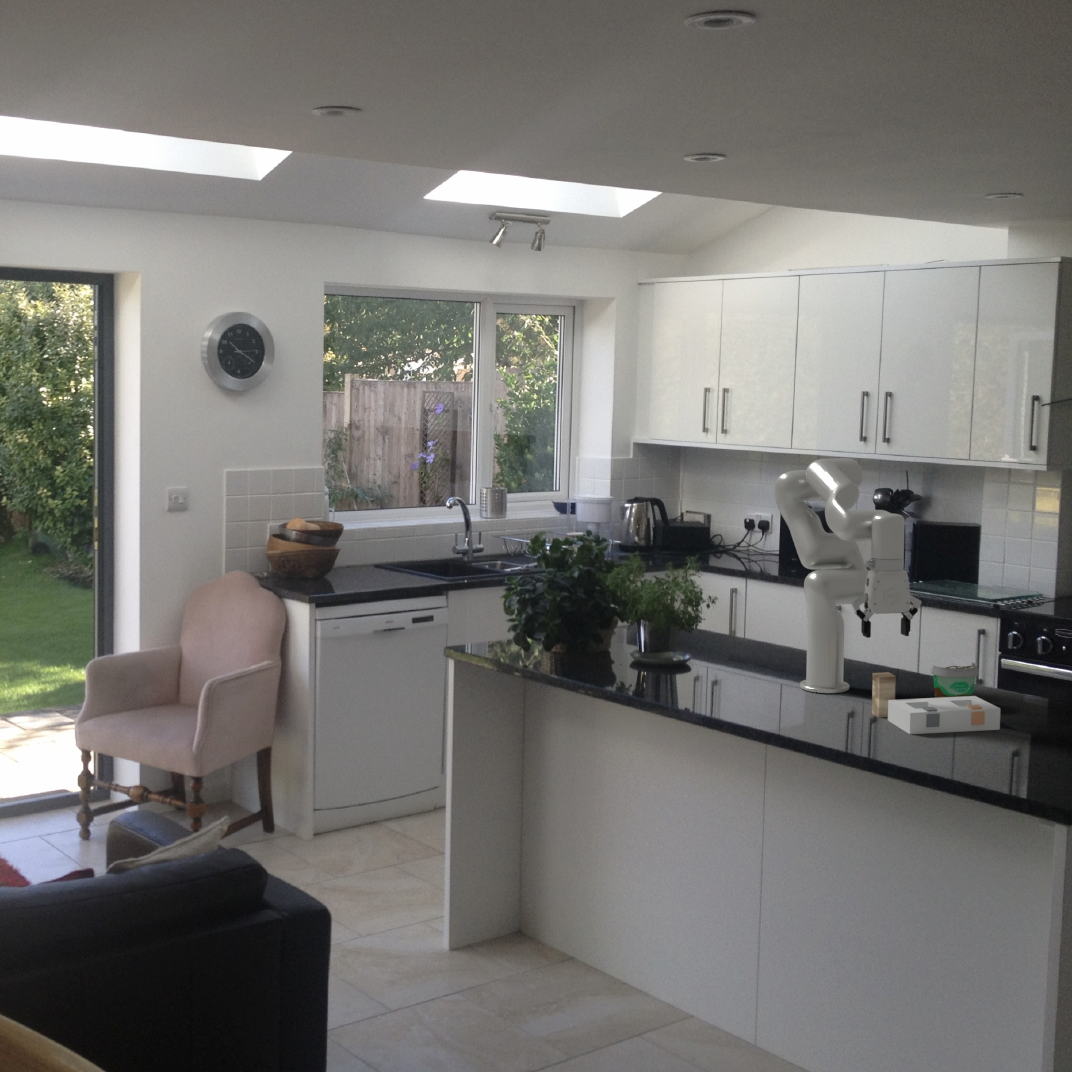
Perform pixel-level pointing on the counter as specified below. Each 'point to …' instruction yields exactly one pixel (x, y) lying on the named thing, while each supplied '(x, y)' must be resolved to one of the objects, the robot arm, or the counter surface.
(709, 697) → the counter surface
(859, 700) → the counter surface
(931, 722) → the socket block
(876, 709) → the plug
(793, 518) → the robot arm
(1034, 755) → the counter surface
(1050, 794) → the counter surface
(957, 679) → the food container
